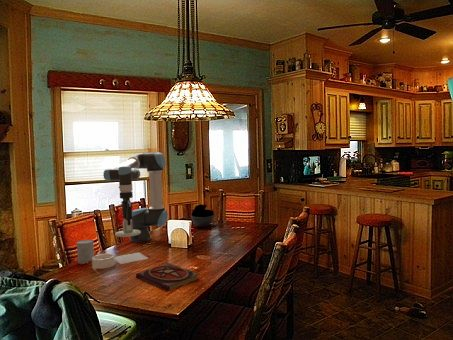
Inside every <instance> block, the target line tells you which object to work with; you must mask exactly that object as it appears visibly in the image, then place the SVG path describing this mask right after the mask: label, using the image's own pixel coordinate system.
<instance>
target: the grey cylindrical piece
mask: <svg viewBox="0 0 453 340" xmlns="http://www.w3.org/2000/svg"><path fill="white" fill-rule="evenodd" d="M94 246H95V245H94V240H93V239H83V240H78V241H77V242H76V248H77V249H76V251H77V253H76V254H77V264H81V265H83V264H85V263H87V264H90V262H92V257H93V256H95V248H94Z"/></svg>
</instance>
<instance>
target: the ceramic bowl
mask: <svg viewBox="0 0 453 340" xmlns="http://www.w3.org/2000/svg"><path fill="white" fill-rule="evenodd" d="M115 257H116V256H115V254H114V253H99V254H97V255H94V256H93V257H92V261H91V267H92V269H93V270H94V271H96V270H97V269H98V270H101V269H107V268H111V267H113V266H114V265H116V264H115V263H116V260H115Z"/></svg>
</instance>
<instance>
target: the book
mask: <svg viewBox="0 0 453 340" xmlns="http://www.w3.org/2000/svg"><path fill="white" fill-rule="evenodd" d="M199 275H201V274H200V273H198V272H195V271H194V270H192V269H191V270H190V269H187V268H183V267H181V266H178V265H176V264H171V263H169V262H167V263H164V264H161V265H157V266H154V267H152V268H148V269H146V270H143V271H140V272H137V273H136V274H135V278H136V279H138V280H141V281H144V282H146V283H148V284H150V285H153V286H155V287H157V288H160V289H162V290H164V291H166V292H170V291H171V290H174V289H175V288H178V287H181V286H183V285H186V284H192V283H194V282H197V281H200V280H201V278H199V277H198V276H199Z"/></svg>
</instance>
